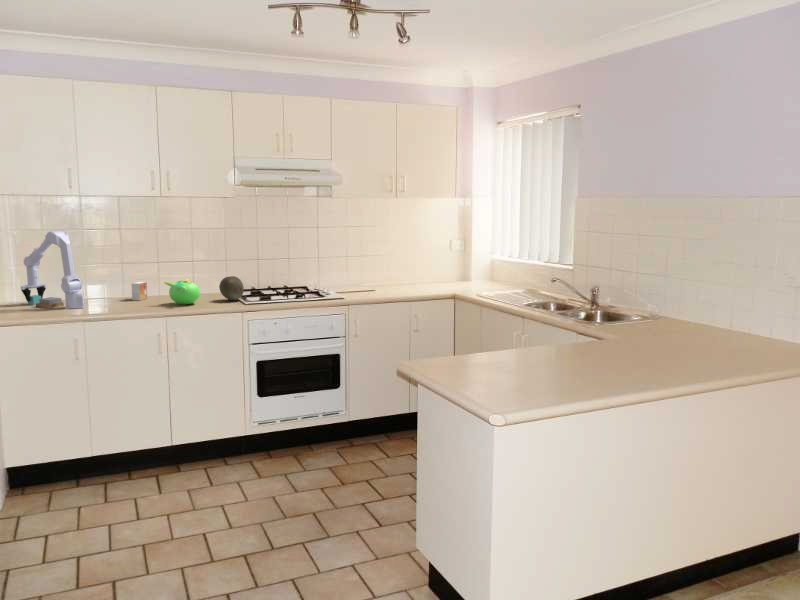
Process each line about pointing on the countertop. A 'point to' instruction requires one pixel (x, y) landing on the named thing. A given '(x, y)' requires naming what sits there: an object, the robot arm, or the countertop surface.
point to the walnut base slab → (49, 305)
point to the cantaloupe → (231, 288)
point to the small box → (139, 291)
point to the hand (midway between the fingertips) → (34, 300)
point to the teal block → (34, 299)
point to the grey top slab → (50, 300)
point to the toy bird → (183, 292)
